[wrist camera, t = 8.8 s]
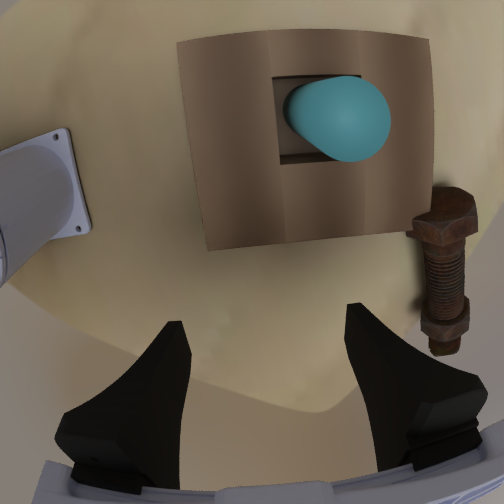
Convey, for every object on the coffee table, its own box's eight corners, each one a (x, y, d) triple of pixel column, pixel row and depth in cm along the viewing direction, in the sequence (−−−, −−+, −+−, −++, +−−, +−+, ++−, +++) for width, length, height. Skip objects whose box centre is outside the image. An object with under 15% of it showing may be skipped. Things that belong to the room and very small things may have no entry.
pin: (288, 141, 19) (315, 169, 12) (277, 88, 17) (298, 82, 10) (341, 132, 19) (395, 155, 12) (331, 80, 17) (383, 72, 10)
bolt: (422, 324, 29) (406, 187, 22) (469, 324, 26) (469, 181, 19) (415, 372, 25) (401, 228, 18) (467, 373, 22) (480, 223, 15)
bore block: (213, 227, 22) (207, 250, 19) (187, 51, 17) (176, 42, 14) (405, 209, 22) (428, 228, 19) (403, 45, 16) (428, 39, 13)
